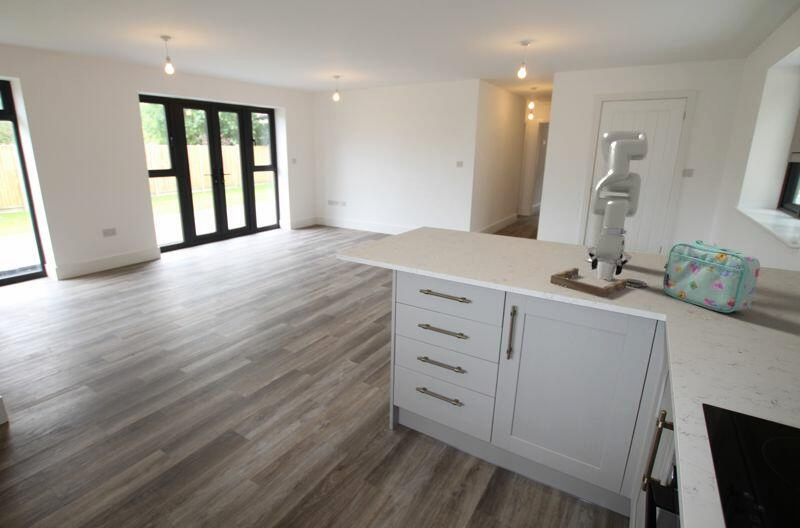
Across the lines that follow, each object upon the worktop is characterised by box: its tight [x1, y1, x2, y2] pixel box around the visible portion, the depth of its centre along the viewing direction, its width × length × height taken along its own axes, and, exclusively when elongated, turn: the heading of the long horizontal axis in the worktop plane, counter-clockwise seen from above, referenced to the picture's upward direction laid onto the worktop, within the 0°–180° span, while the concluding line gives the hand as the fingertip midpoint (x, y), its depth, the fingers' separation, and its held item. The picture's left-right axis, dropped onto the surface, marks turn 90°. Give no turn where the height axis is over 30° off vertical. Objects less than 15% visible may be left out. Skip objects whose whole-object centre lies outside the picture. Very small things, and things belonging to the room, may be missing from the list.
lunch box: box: [662, 239, 761, 313], centre depth 140 cm, size 27×10×21 cm, turn 22°
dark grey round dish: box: [625, 278, 648, 289], centre depth 162 cm, size 9×9×1 cm
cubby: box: [550, 267, 627, 298], centre depth 160 cm, size 20×21×3 cm
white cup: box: [596, 260, 617, 281], centre depth 169 cm, size 7×7×7 cm
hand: (605, 271), depth 169 cm, fingers open, 9 cm apart
